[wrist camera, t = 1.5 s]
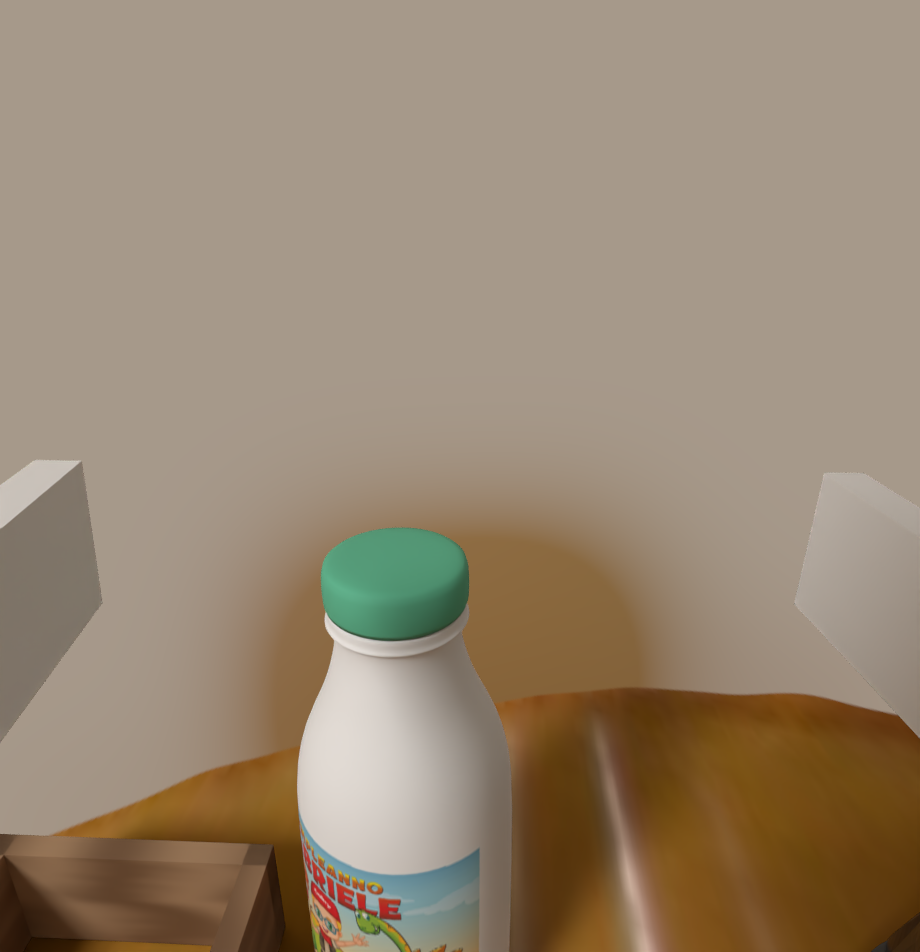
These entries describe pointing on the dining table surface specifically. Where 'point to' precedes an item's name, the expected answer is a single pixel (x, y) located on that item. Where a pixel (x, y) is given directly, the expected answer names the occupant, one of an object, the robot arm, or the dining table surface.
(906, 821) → the dining table surface
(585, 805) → the dining table surface
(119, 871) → the walnut U-rest
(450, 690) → the milk bottle
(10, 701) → the robot arm
